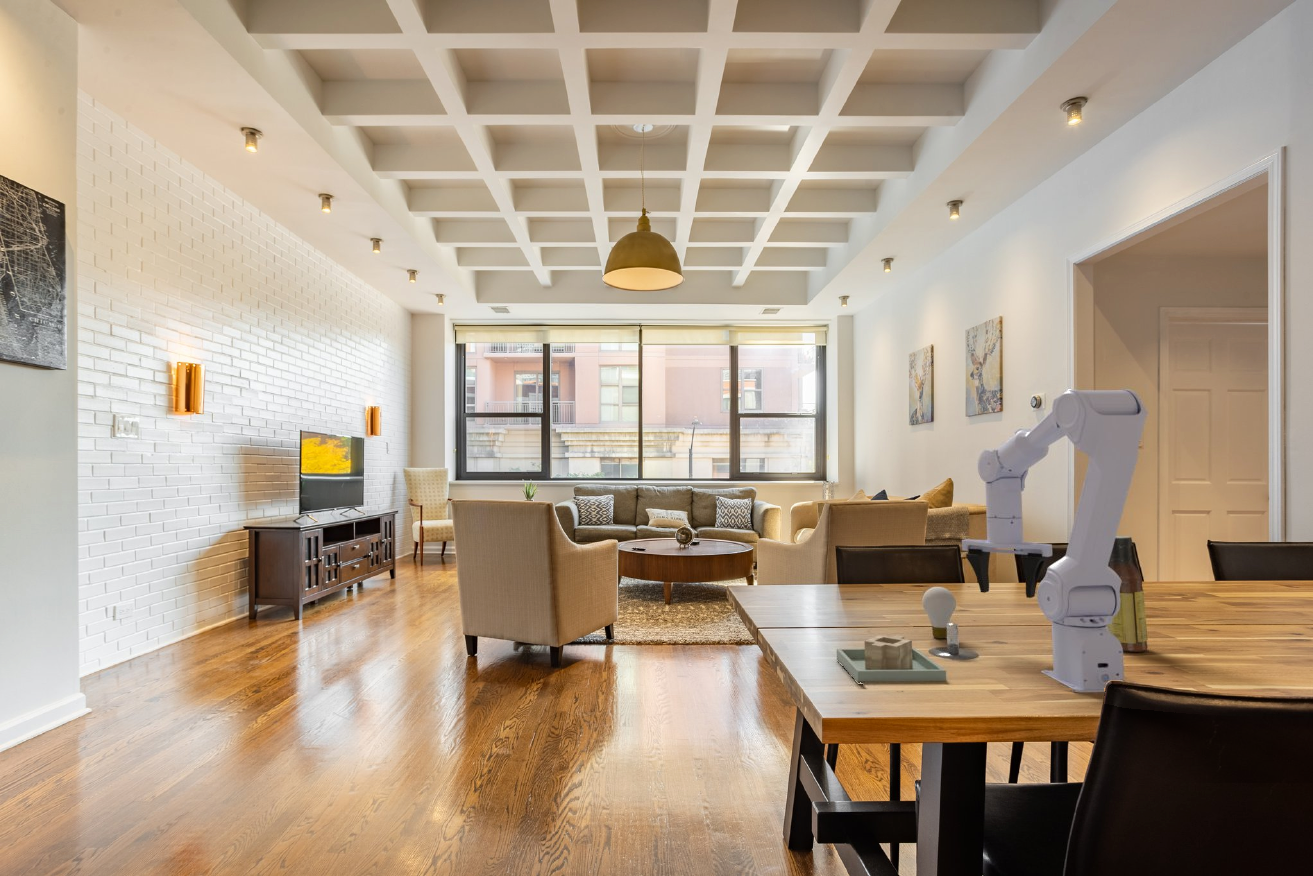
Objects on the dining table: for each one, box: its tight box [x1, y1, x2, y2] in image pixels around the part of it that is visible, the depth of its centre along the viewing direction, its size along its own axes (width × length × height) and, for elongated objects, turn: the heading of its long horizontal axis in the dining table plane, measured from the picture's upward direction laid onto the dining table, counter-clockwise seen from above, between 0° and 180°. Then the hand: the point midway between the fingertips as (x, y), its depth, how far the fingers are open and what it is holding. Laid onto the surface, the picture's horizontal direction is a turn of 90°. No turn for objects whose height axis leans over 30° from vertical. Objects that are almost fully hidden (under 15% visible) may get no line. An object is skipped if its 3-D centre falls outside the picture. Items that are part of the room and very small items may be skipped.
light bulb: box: [921, 586, 957, 640], centre depth 130 cm, size 6×6×10 cm
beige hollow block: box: [864, 634, 913, 670], centre depth 111 cm, size 8×5×4 cm, turn 136°
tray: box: [836, 647, 947, 683], centre depth 111 cm, size 13×13×2 cm
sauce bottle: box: [1107, 535, 1149, 653], centre depth 123 cm, size 7×6×20 cm
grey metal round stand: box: [928, 622, 980, 661], centre depth 119 cm, size 8×8×6 cm
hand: (1007, 594), depth 122 cm, fingers open, 7 cm apart
